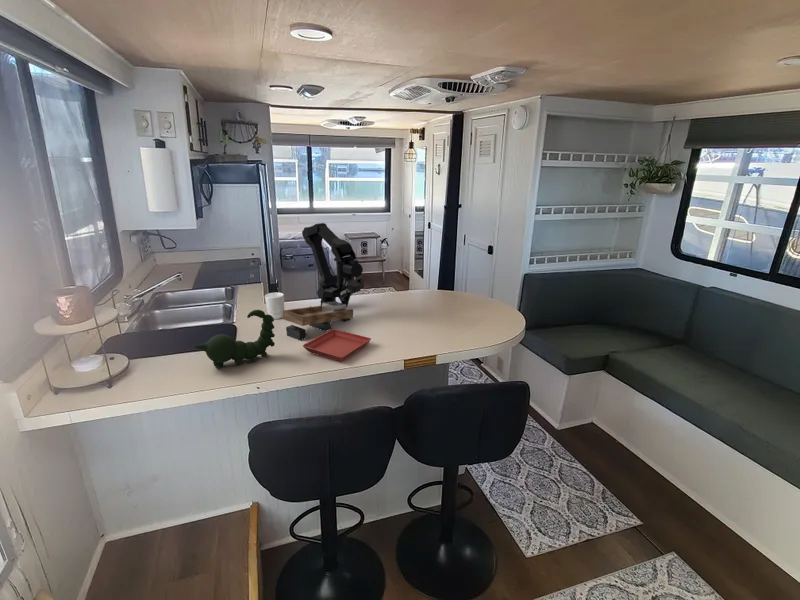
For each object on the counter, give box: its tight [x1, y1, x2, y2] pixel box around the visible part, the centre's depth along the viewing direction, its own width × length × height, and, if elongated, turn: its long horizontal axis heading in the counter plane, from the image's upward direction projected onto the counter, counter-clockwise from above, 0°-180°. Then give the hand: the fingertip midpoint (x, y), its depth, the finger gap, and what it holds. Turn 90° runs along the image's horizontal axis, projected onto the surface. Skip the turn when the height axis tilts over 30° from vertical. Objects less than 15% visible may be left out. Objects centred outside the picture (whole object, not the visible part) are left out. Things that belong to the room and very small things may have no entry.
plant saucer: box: [302, 328, 372, 362], centre depth 153 cm, size 18×18×3 cm
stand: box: [285, 318, 351, 341], centre depth 172 cm, size 27×10×4 cm, turn 142°
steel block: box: [322, 300, 347, 313], centre depth 177 cm, size 7×7×4 cm
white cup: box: [264, 292, 285, 320], centre depth 184 cm, size 8×8×10 cm
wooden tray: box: [282, 305, 354, 327], centre depth 171 cm, size 27×13×4 cm, turn 142°
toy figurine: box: [194, 309, 276, 369], centre depth 141 cm, size 9×19×25 cm
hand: (345, 307), depth 183 cm, fingers closed
